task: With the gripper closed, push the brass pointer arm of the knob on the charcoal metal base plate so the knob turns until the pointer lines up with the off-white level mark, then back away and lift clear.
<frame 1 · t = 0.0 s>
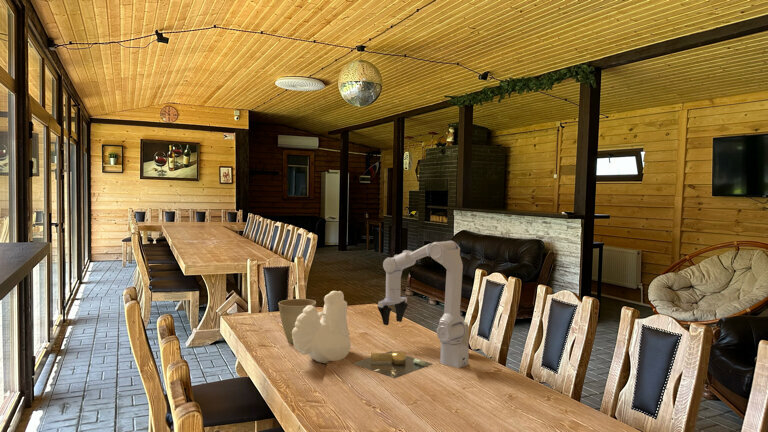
hand: (392, 323, 200), 10 cm above the table, tool pointing down, fingers open, 7 cm apart
base plate: (392, 367, 178), on the table
knob: (388, 357, 179), point 3 cm above the table, hinge at -45.0°
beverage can: (459, 354, 195), on the table
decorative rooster: (318, 361, 184), on the table
plant pot: (296, 341, 208), on the table
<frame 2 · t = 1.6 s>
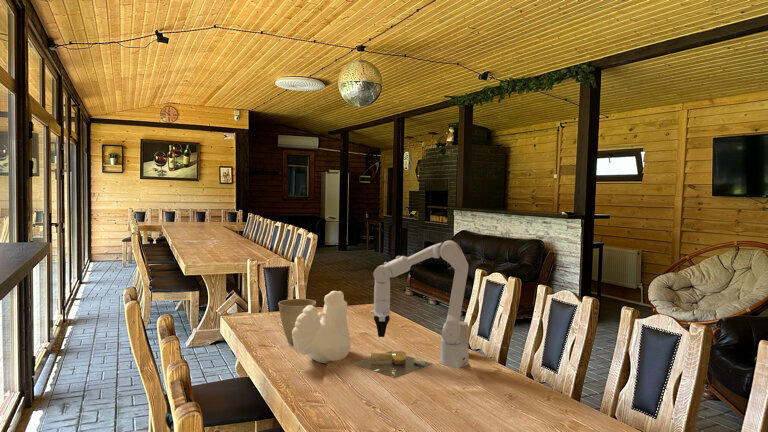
hand: (381, 336, 185), 9 cm above the table, tool pointing down, fingers closed
nothing on the table moved.
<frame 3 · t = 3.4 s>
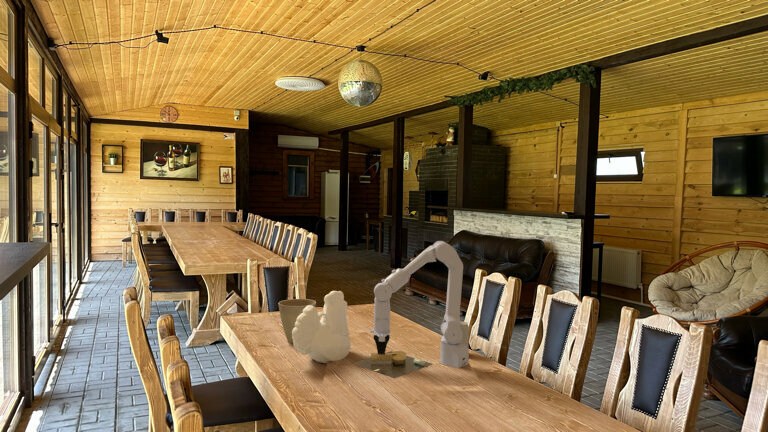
hand: (381, 356, 180), 4 cm above the table, tool pointing down, fingers closed, pressing on knob
knob: (388, 357, 179), point 3 cm above the table, hinge at -43.1°, touching gripper
everything else where it was.
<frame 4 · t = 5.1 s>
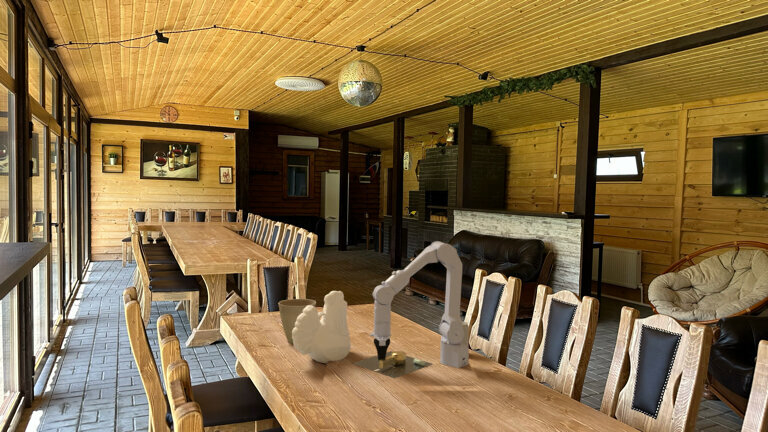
hand: (381, 360, 175), 4 cm above the table, tool pointing down, fingers closed
knob: (392, 360, 176), point 3 cm above the table, hinge at 4.6°, touching gripper
everything else where it was.
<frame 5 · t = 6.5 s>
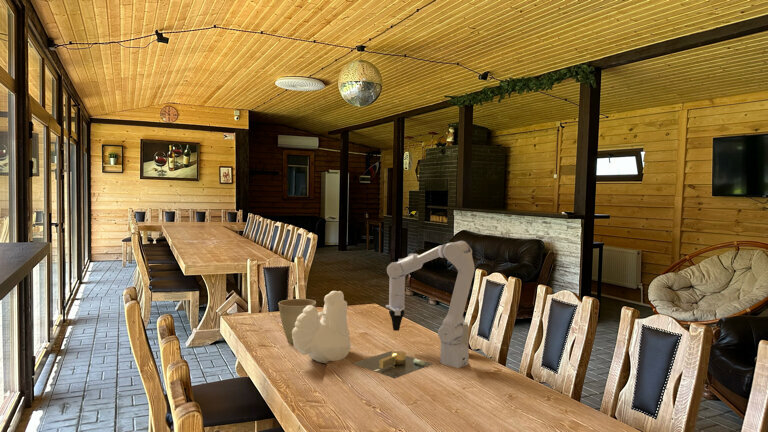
hand: (396, 330, 192), 9 cm above the table, tool pointing down, fingers closed
knob: (392, 360, 176), point 3 cm above the table, hinge at 4.9°
everything else where it was.
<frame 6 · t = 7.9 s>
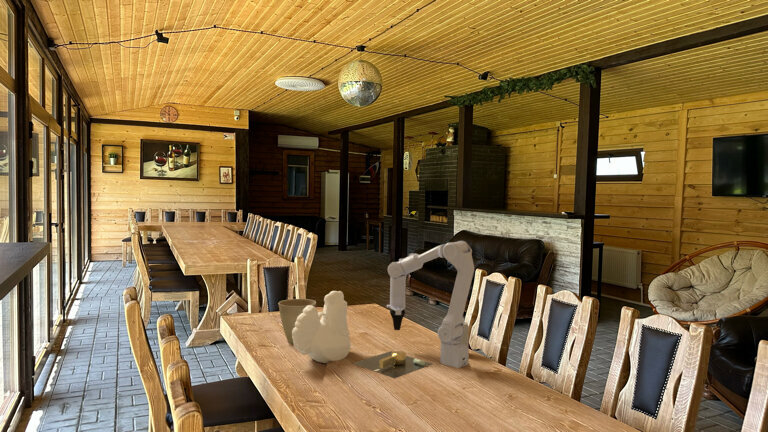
hand: (397, 329, 193), 9 cm above the table, tool pointing down, fingers closed
nothing on the table moved.
at the end: knob at +5° (first picture: -45°) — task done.
